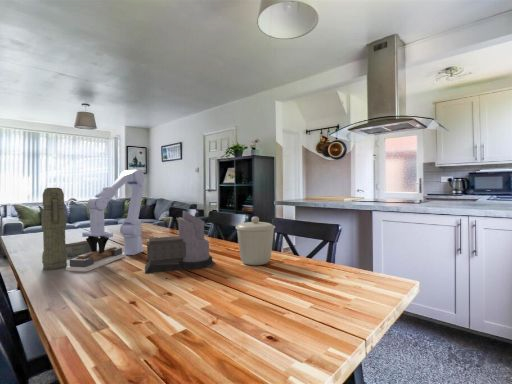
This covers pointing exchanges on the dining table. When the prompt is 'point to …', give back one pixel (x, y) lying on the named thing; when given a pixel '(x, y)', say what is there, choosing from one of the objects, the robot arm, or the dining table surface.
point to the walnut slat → (98, 254)
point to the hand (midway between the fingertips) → (97, 252)
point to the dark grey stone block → (77, 248)
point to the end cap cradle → (90, 264)
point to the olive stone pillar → (54, 229)
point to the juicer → (180, 248)
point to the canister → (255, 241)
